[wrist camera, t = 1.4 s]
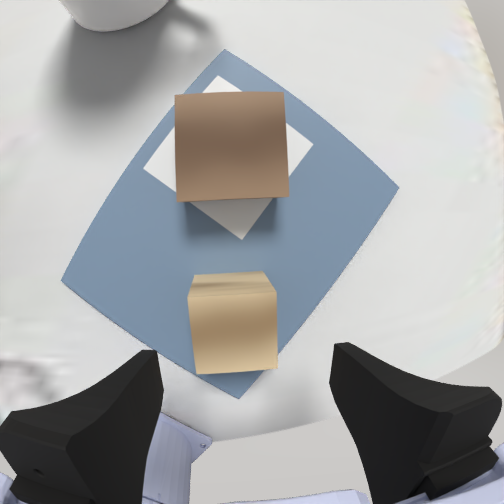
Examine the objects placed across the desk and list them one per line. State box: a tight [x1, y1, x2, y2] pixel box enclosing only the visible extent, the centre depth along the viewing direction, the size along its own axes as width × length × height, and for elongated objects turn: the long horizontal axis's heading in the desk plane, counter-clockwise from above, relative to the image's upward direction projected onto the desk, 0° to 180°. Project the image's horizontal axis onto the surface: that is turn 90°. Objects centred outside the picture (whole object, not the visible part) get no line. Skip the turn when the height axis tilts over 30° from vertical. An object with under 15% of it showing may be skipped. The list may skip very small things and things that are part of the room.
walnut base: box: [175, 91, 289, 202], centre depth 17 cm, size 6×6×4 cm
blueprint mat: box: [61, 49, 399, 399], centre depth 20 cm, size 20×16×1 cm
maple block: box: [187, 271, 278, 374], centre depth 18 cm, size 4×4×5 cm
